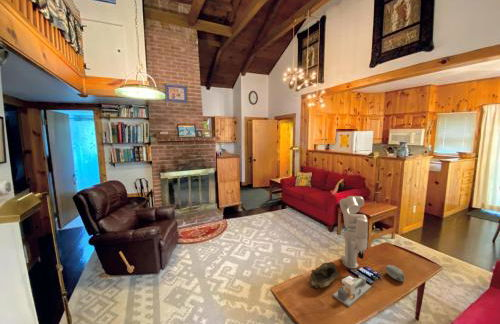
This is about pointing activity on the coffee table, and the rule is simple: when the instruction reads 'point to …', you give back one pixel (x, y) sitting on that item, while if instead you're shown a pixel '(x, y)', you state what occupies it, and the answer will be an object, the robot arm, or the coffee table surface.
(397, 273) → the streaked grey egg
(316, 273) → the hollow geode rock
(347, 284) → the sleeve
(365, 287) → the grey support base
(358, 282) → the pale green crossbeam
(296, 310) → the coffee table surface
